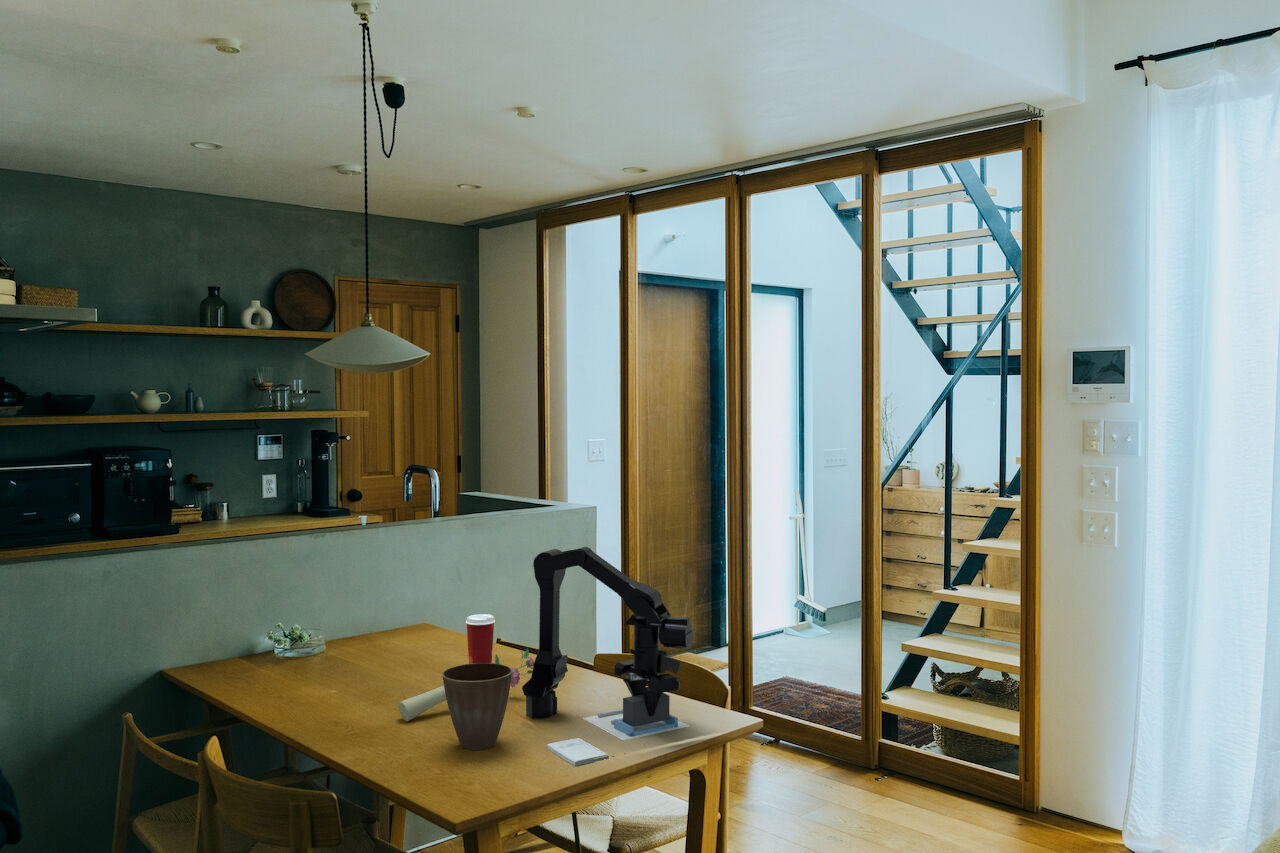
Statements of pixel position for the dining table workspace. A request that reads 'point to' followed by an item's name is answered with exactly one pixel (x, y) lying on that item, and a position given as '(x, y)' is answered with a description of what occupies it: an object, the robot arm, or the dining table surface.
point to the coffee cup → (480, 638)
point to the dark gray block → (644, 710)
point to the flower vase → (436, 696)
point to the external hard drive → (576, 751)
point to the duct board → (623, 731)
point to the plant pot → (477, 702)
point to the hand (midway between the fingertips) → (646, 713)
